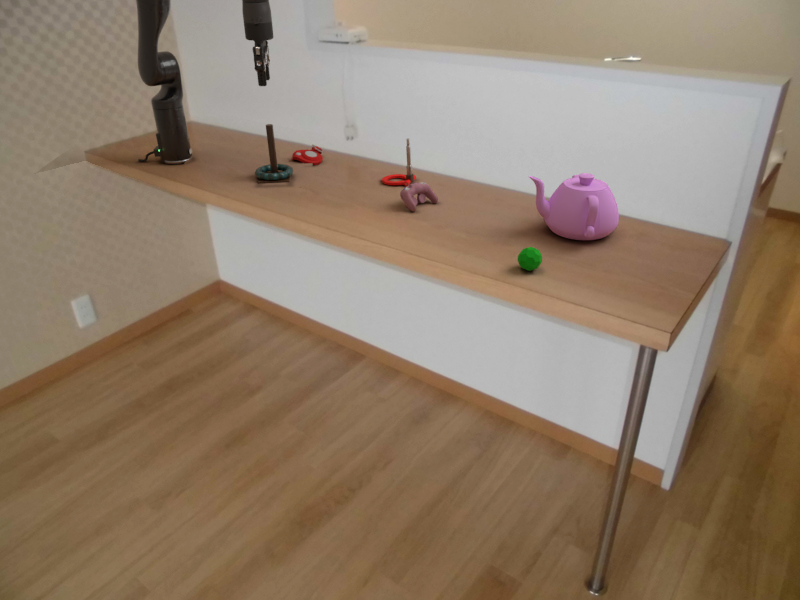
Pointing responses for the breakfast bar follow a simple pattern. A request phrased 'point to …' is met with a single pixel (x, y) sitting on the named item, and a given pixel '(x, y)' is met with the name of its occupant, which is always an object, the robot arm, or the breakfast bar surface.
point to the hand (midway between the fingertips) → (264, 82)
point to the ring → (274, 176)
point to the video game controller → (421, 191)
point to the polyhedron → (530, 258)
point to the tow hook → (408, 178)
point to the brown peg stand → (272, 157)
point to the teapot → (579, 208)
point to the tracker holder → (309, 155)
